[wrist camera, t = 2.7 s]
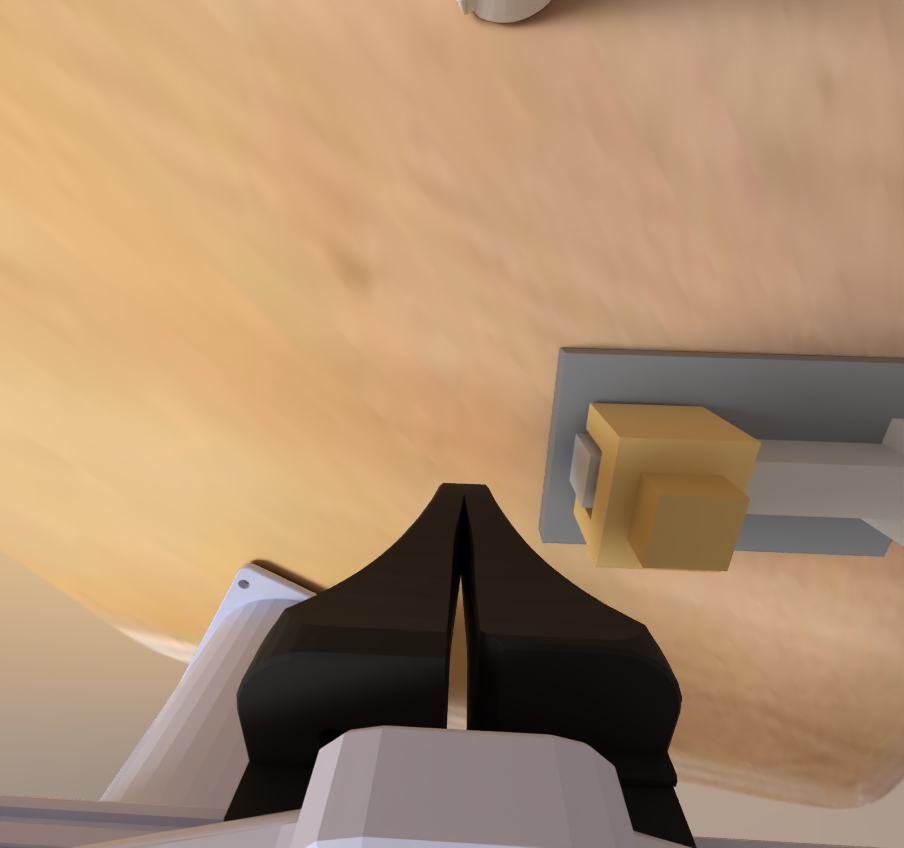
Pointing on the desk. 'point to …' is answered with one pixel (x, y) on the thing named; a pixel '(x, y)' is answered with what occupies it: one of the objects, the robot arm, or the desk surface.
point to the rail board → (762, 417)
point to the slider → (666, 487)
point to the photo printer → (502, 9)
